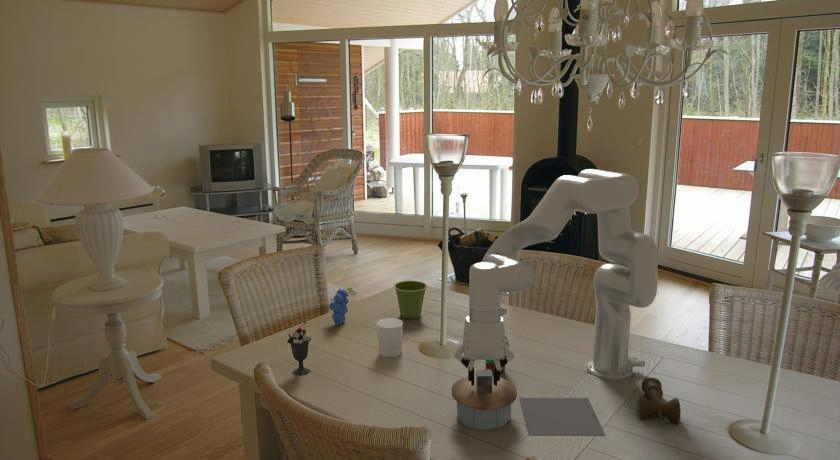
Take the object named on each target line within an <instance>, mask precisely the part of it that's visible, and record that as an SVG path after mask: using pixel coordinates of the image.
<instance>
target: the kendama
mask: <svg viewBox="0 0 840 460" xmlns="http://www.w3.org/2000/svg"><path fill="white" fill-rule="evenodd" d="M640 386H641V391H642V392H643V393H644V397H643V396H638V399H637V416H638V419H639V420H640V421H641V420H642V421H644V420H646V419H648V418H651V417H659V421H660V423H662V424H663V422H664V418H666V419H668V420H669V421H672V422H673V423H674V424H680V421H681V405H680V400H679V399H678V397H675V398H672V399H670V400H668V401H665V402H661V399H662V398H663V395H664V392H663V384H662V382H661V381H660V380H659V379H658V378H656V377H647V378H644V380H642V381H641V385H640Z"/></svg>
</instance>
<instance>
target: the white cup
mask: <svg viewBox="0 0 840 460" xmlns="http://www.w3.org/2000/svg"><path fill="white" fill-rule="evenodd" d="M403 326H404V322H403V320H401V319H399V318H394V317H387V318H386V317H385V318H382V319H379V320H378V321H376V327H377V329H376V330H377V339H378V340H377V341H378V349H379V354H380V356H382V357H384V358H397V357H398V356H401V354H402V349H403V348H402V346H403V329H404V327H403Z"/></svg>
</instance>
